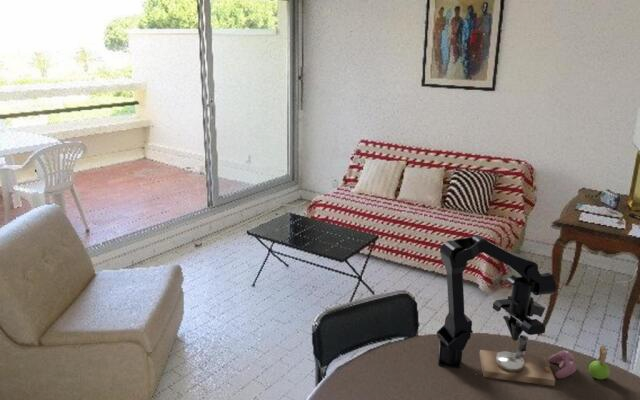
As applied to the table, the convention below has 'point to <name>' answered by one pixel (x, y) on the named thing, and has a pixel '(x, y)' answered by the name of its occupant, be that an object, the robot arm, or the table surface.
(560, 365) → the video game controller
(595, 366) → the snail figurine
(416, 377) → the table surface
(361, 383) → the table surface
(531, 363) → the stand
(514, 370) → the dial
